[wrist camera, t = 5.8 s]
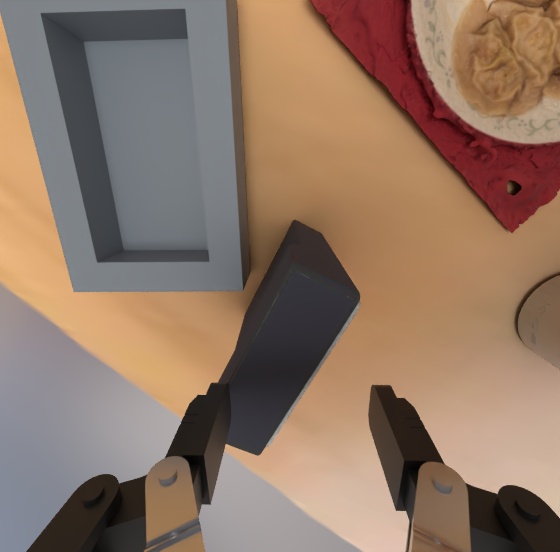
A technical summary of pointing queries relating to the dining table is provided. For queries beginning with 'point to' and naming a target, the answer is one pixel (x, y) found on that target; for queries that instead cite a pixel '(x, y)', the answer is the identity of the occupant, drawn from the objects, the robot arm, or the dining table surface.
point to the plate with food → (470, 85)
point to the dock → (138, 138)
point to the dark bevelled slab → (286, 336)
